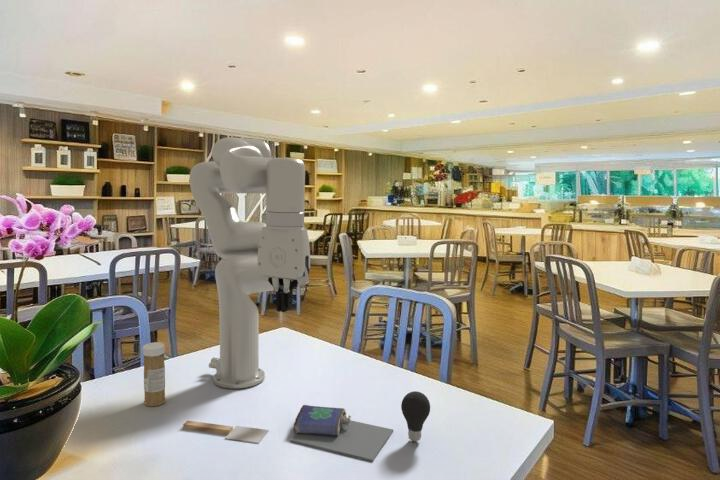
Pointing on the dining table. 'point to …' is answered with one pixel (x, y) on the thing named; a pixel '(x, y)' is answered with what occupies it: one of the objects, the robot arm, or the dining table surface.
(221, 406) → the dining table surface
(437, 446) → the dining table surface
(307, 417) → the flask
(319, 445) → the slate board
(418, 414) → the light bulb
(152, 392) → the sprinkles bottle
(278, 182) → the robot arm
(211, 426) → the turner
